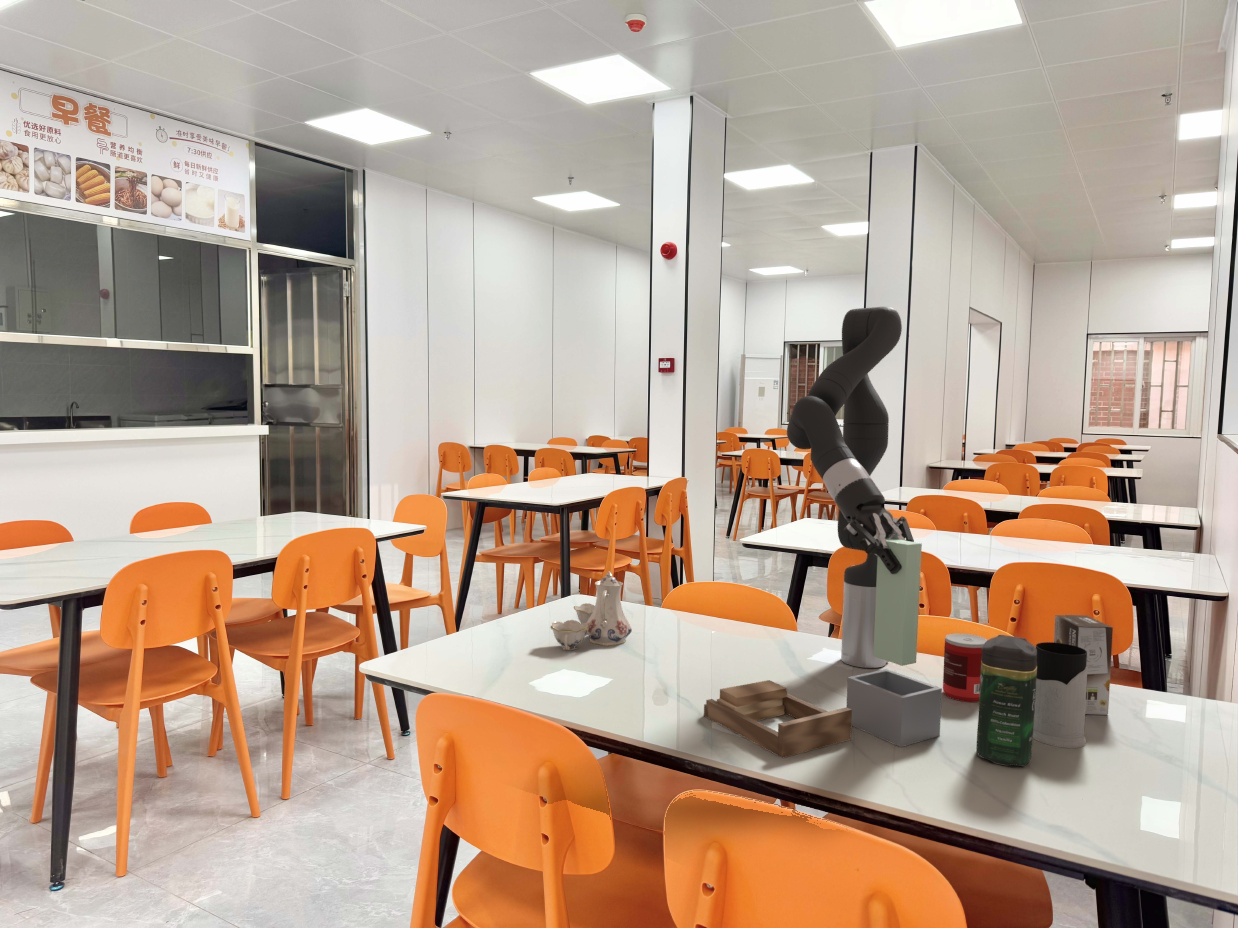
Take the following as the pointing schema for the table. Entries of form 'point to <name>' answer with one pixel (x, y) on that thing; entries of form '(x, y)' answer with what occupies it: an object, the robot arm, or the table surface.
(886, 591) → the tall mint green block
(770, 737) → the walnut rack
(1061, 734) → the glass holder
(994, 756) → the coffee jar
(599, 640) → the chinaware
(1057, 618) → the coffee box
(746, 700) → the offcut stack
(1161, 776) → the table surface
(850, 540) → the robot arm
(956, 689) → the canned food
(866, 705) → the grey holder
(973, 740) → the table surface
